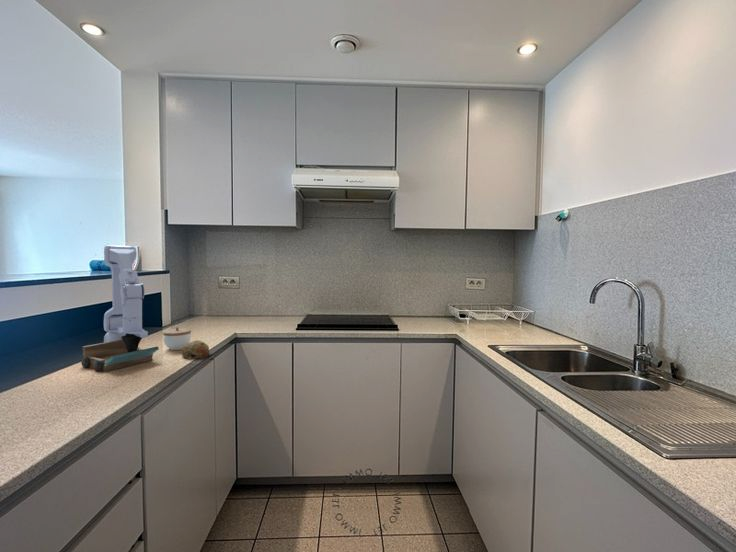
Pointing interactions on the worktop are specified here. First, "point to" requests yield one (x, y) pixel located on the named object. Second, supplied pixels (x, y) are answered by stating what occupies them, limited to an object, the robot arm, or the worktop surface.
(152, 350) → the tailgate
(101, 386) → the worktop surface
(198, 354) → the bread roll
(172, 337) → the lidded jar
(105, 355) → the cart bed
